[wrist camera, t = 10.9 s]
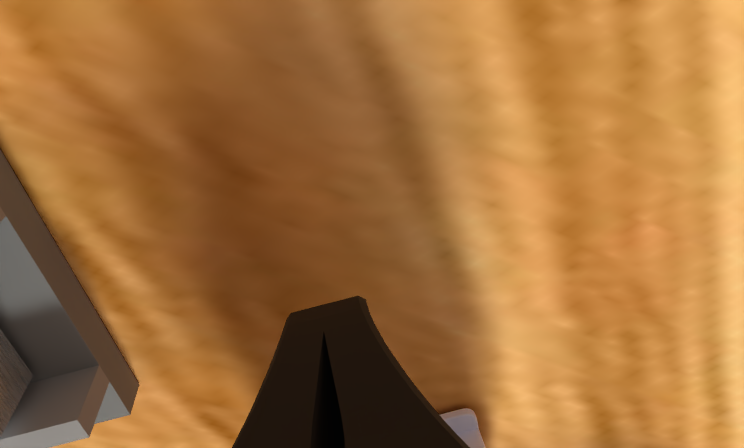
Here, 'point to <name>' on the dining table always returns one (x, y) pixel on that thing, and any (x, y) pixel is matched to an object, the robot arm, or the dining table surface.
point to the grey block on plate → (11, 380)
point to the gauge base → (53, 334)
